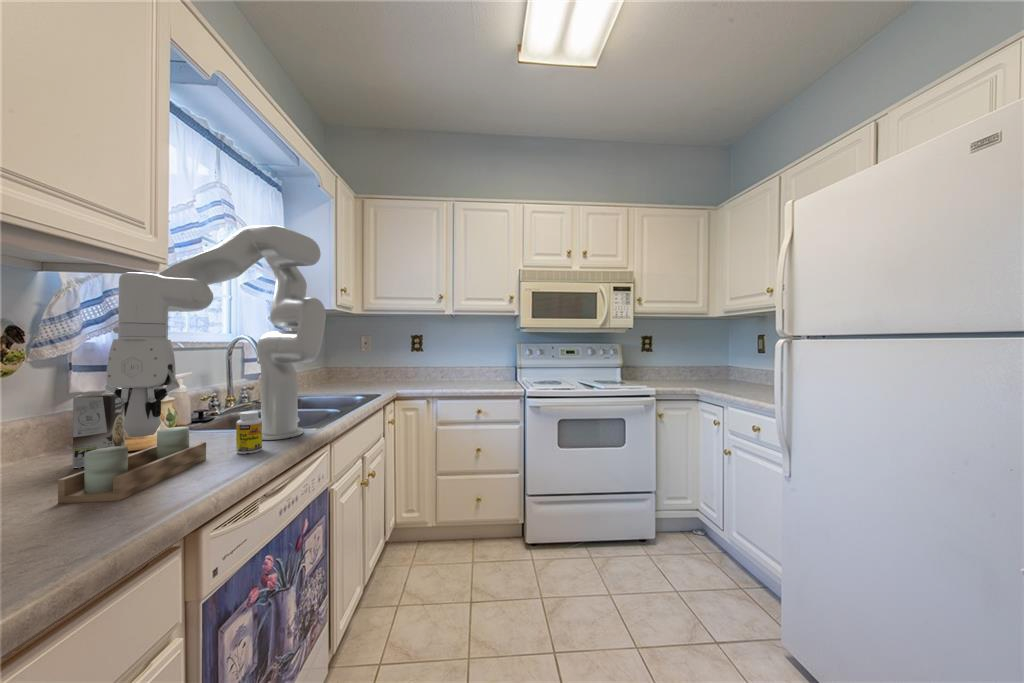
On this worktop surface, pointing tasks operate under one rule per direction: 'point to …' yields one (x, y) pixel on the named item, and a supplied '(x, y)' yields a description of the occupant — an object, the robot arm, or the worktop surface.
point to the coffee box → (96, 424)
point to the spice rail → (130, 468)
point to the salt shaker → (139, 415)
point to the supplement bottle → (249, 433)
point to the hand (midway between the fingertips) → (142, 419)
